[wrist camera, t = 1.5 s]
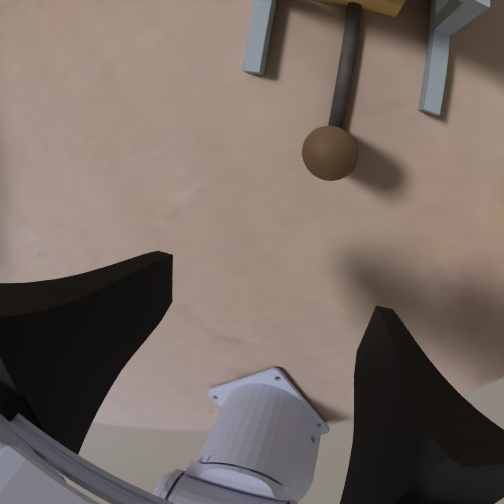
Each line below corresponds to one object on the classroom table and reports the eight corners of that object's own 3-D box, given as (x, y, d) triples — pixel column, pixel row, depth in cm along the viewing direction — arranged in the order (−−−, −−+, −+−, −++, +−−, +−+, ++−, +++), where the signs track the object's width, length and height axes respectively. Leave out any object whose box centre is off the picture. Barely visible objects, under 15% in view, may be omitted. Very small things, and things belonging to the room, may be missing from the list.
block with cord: (321, -59, 12) (313, -101, 8) (400, -43, 11) (413, -82, 7) (286, 156, 18) (268, 167, 14) (368, 176, 18) (379, 194, 13)
